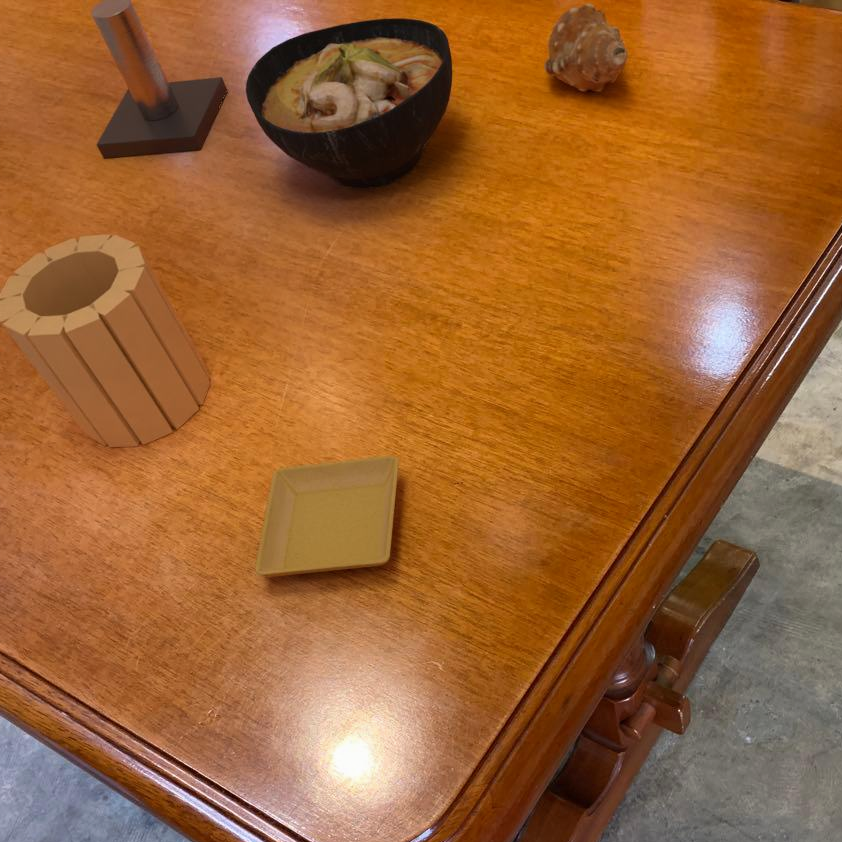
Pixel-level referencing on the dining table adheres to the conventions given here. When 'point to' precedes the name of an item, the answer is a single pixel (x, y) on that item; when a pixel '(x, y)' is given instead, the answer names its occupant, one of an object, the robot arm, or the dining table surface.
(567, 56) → the seashell
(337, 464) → the saucer
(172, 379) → the slatted pencil cup
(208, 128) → the metal peg stand
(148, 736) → the dining table surface
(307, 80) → the bowl
